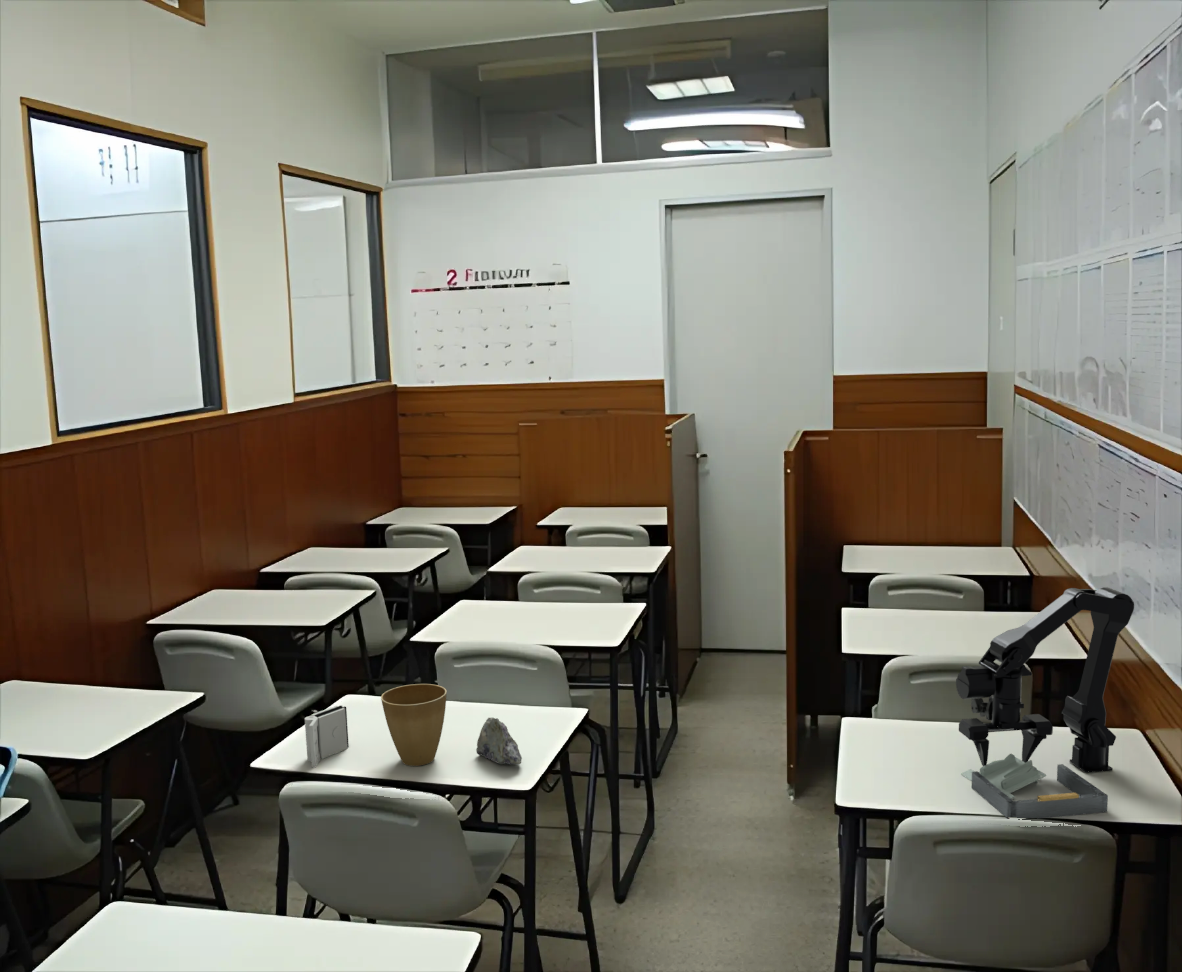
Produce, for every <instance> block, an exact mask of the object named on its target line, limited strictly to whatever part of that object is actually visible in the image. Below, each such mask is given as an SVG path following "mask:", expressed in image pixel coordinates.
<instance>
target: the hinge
mask: <svg viewBox="0 0 1182 972" xmlns="http://www.w3.org/2000/svg"><path fill="white" fill-rule="evenodd" d="M348 728H349V727H348V713H347V706H343V705H339V706H338V705H333V706H332V707H329V708H326V709H324V710H323V709H322V710H320V711H317V712H314V713H313V714H311V715H309V716H306V717H304V729H305V730H304V731H305V741H306V743H305V744H306V756H307V757H306V758H307V761H308V762H311V768H316V767H317V766H318V764H319V762H321V761H320V760H324V759H325V758H328V757H330V756H333V755H335V754H338V753H339V752H342V751H345V750H347V749H348V748H349V746H350V745H349V732H348V730H349V729H348Z"/></svg>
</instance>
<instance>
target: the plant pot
mask: <svg viewBox="0 0 1182 972" xmlns="http://www.w3.org/2000/svg"><path fill="white" fill-rule="evenodd" d="M447 692H448V691H447V689H446V688H445V687H444V686H441V685H437V684H431V683H415V684H413V683H412V684H406V685H401V686H397V687H393V688H391V689H388V690H386V691H384V693H382V694H381V696H380V701H381V705H382V708H383V713H384V717H385V720H386V725H387V728H388V731H389V734H390V737H391V740H392V742H393V745H394V748H395V750H396V752H397V754H398V756H399V758H400V761H401V763H402V764H403V765H405V766H410V767H421V766H424V765H428V764H431V763H432V762H433V761H434V760H435V758H436V755H437V752H438V749H439V745H440V740H441V736H442V732H443V727H444V722H445V715H446V707H447Z"/></svg>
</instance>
